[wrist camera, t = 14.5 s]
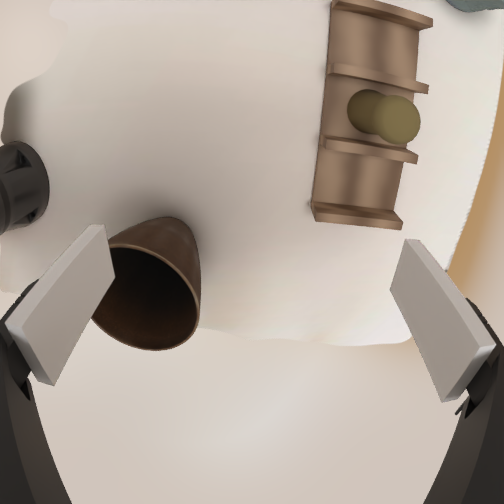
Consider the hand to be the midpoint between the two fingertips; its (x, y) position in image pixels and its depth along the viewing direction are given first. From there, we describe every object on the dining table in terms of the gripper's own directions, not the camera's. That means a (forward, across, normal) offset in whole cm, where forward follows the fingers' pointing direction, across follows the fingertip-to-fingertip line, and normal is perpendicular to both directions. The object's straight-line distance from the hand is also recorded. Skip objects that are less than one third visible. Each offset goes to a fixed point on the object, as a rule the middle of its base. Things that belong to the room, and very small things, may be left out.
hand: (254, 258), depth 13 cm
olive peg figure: (+29, +14, +5) cm, 32 cm away
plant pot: (+30, -12, -15) cm, 36 cm away
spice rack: (+29, +14, +5) cm, 33 cm away
